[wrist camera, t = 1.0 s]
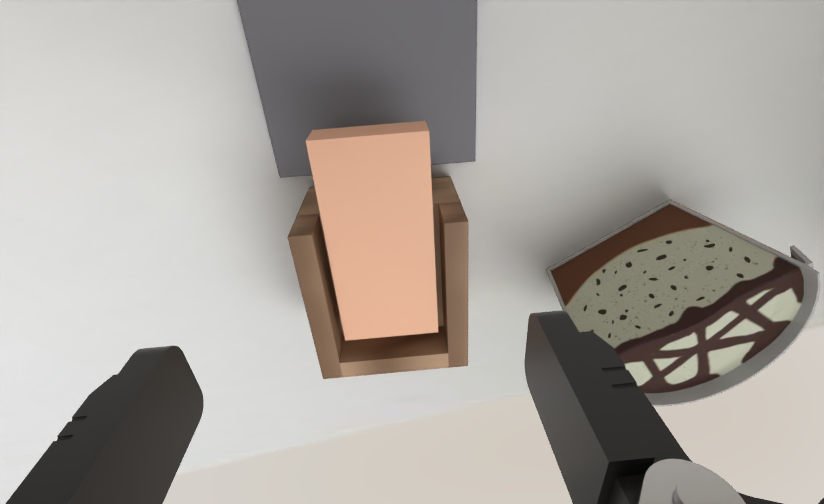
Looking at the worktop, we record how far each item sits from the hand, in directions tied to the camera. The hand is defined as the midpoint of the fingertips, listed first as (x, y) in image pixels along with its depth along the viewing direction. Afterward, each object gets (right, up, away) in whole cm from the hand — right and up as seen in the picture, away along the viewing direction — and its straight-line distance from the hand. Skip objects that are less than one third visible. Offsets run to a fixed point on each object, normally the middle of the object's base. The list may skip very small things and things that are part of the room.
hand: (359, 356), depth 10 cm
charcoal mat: (-1, +13, +13) cm, 18 cm away
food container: (+17, +2, +21) cm, 27 cm away
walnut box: (0, +3, +19) cm, 19 cm away
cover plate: (0, +4, +14) cm, 14 cm away
